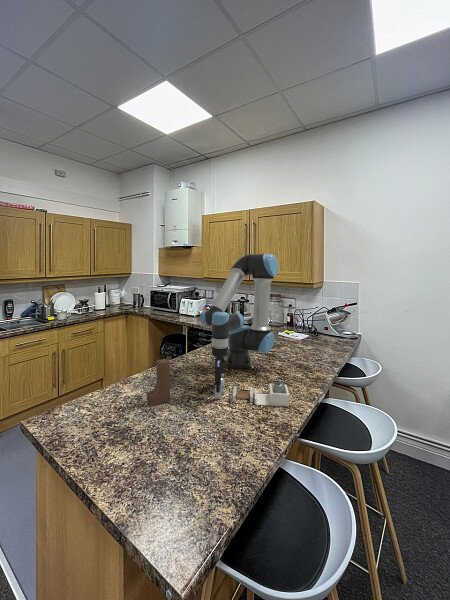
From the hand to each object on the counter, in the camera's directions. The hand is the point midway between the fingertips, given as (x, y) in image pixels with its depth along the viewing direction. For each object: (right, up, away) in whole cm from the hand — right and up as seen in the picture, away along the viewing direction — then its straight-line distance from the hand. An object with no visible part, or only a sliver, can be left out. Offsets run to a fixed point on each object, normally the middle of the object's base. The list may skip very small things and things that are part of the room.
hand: (219, 392), depth 130 cm
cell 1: (0, 0, 0) cm, 0 cm away
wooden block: (-26, -1, -9) cm, 28 cm away
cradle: (+10, -1, -7) cm, 13 cm away
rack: (+22, -2, -9) cm, 24 cm away
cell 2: (+26, 0, -9) cm, 27 cm away
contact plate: (+10, 0, -7) cm, 13 cm away
